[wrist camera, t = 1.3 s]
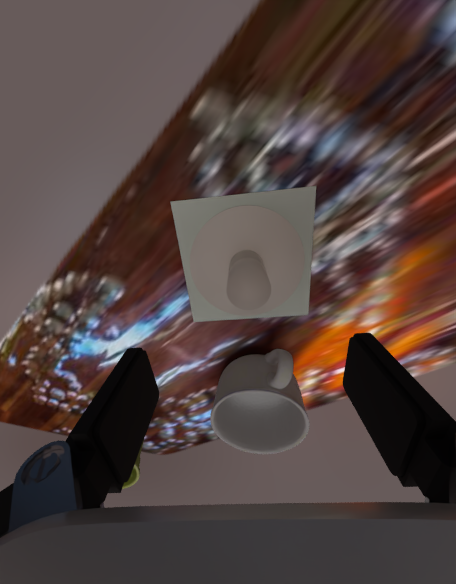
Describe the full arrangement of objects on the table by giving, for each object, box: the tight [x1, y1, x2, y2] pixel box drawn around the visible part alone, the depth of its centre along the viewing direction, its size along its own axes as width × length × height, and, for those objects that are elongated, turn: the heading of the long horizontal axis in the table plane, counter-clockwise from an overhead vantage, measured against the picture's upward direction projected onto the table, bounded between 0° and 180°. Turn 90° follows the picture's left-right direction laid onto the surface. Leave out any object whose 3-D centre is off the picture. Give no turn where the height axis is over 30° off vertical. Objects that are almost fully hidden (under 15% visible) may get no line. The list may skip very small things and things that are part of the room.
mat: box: [171, 186, 316, 322], centre depth 24 cm, size 14×14×1 cm
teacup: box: [211, 349, 309, 454], centre depth 27 cm, size 14×11×8 cm
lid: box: [190, 205, 305, 316], centre depth 21 cm, size 12×12×7 cm
